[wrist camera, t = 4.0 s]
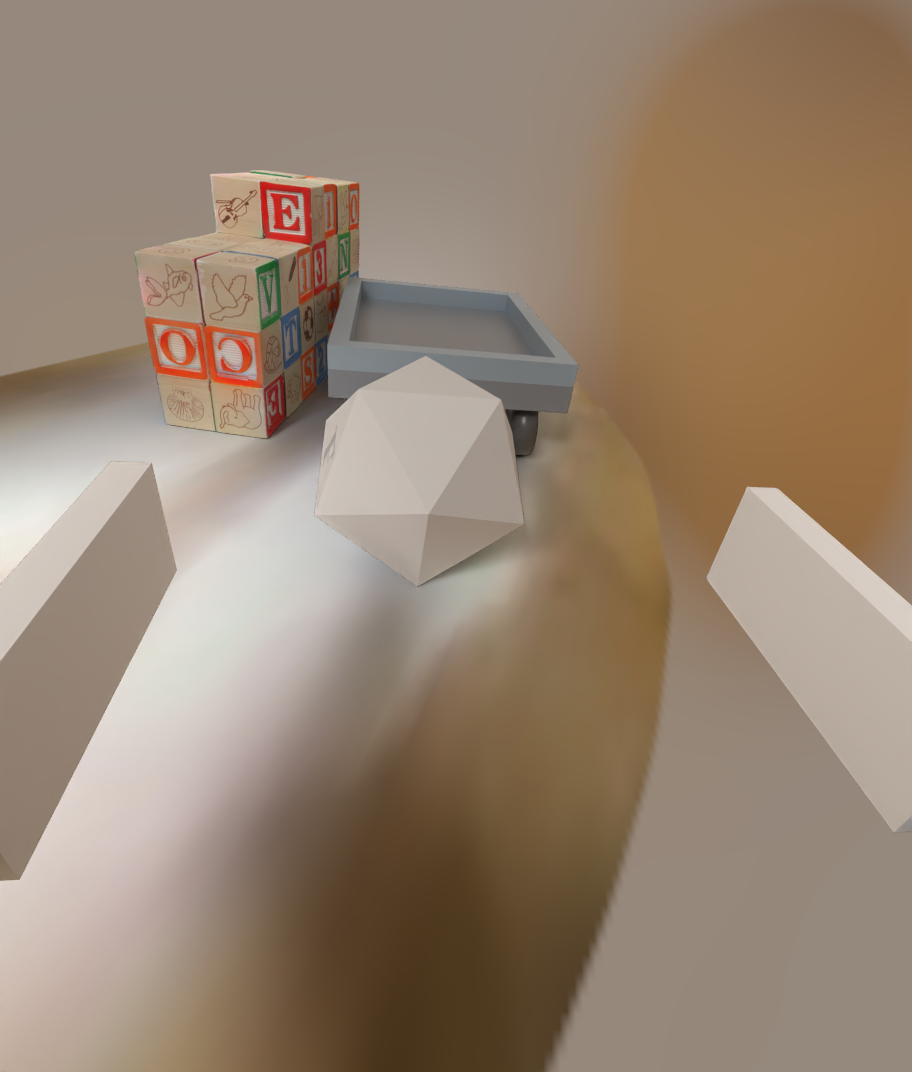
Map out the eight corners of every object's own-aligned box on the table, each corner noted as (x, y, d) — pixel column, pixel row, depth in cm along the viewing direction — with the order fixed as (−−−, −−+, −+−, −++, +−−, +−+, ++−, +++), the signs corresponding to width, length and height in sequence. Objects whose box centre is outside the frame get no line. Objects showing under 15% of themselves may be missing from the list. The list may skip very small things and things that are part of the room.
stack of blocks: (270, 443, 32) (247, 194, 25) (163, 428, 32) (111, 175, 25) (359, 342, 50) (360, 179, 43) (290, 332, 50) (280, 168, 43)
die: (391, 488, 30) (274, 357, 23) (542, 438, 28) (465, 271, 20) (386, 625, 26) (240, 518, 18) (567, 582, 23) (481, 436, 16)
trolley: (329, 457, 31) (327, 345, 27) (348, 359, 45) (348, 276, 41) (554, 468, 33) (578, 365, 29) (505, 371, 47) (518, 293, 43)
